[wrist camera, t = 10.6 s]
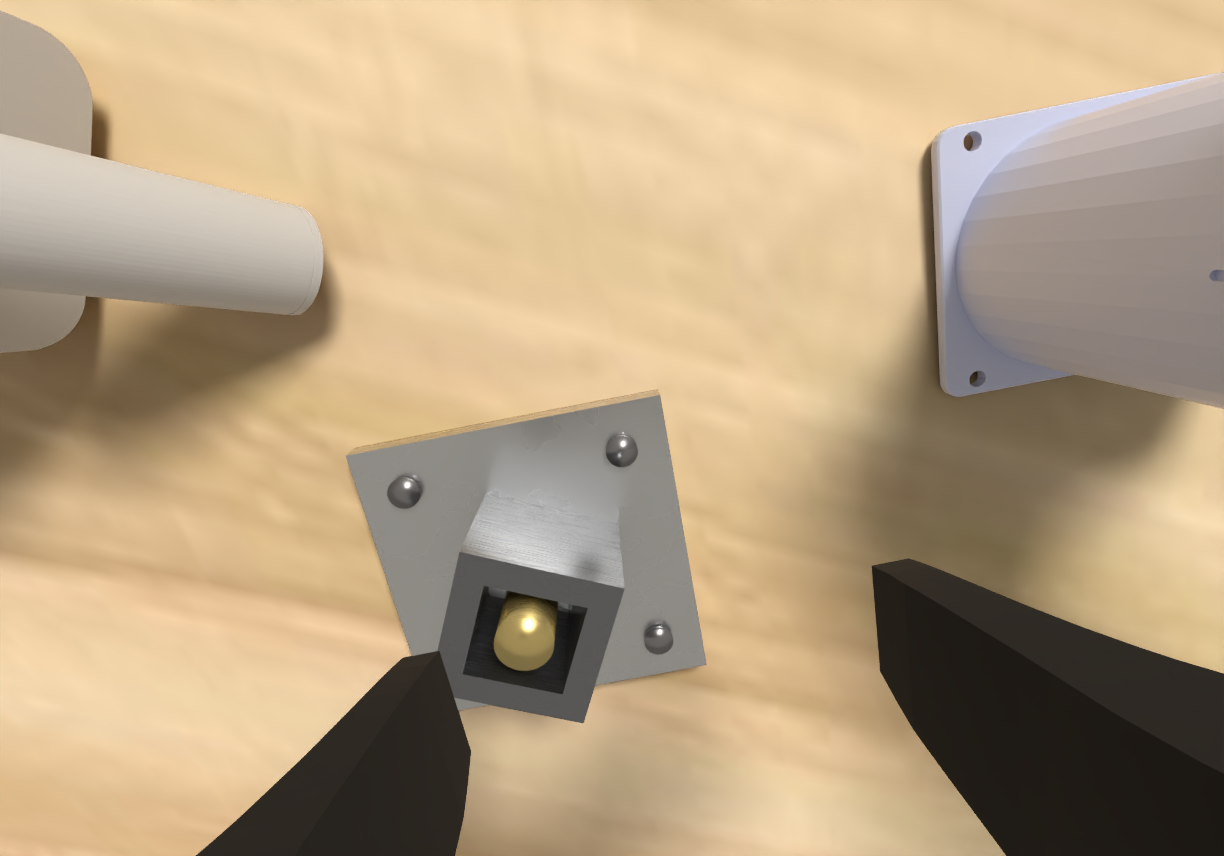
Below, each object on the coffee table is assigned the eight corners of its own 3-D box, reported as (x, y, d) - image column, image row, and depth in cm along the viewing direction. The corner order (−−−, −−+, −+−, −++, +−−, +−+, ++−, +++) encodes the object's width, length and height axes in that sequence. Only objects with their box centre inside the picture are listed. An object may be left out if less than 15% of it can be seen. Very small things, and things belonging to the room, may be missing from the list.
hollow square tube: (618, 524, 19) (624, 588, 16) (584, 636, 21) (583, 723, 17) (485, 493, 19) (459, 551, 15) (459, 610, 20) (427, 692, 16)
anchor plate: (657, 389, 19) (679, 432, 14) (702, 650, 22) (733, 760, 17) (355, 447, 19) (277, 509, 14) (437, 699, 22) (394, 822, 17)
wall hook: (331, 405, 18) (-112, 517, 9) (56, 315, 20) (-588, 325, 10) (372, 128, 16) (-145, -121, 7) (63, 49, 18) (-736, -254, 8)
